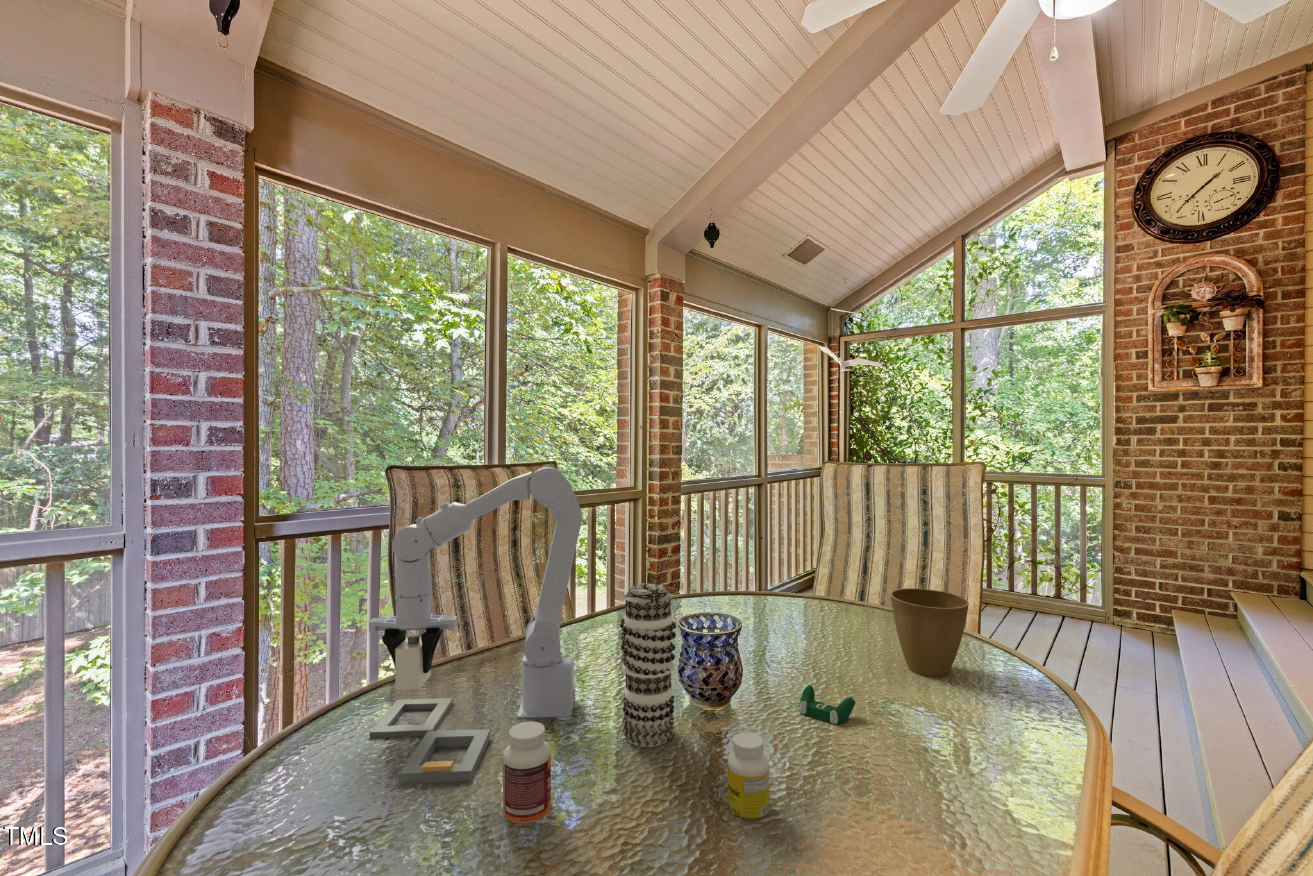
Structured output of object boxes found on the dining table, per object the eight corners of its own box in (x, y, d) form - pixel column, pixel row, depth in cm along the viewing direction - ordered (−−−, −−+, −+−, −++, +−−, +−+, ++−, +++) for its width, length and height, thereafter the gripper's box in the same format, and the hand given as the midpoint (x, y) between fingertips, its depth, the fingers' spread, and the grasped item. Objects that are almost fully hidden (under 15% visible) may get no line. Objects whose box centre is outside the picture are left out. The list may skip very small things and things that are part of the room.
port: (490, 741, 94) (490, 725, 94) (471, 785, 82) (471, 766, 82) (427, 743, 94) (427, 727, 94) (399, 787, 82) (399, 769, 82)
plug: (431, 675, 105) (430, 630, 105) (419, 689, 99) (419, 642, 99) (408, 675, 104) (408, 631, 104) (395, 690, 98) (395, 643, 98)
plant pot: (891, 681, 118) (890, 602, 118) (891, 656, 131) (890, 585, 132) (974, 693, 112) (973, 610, 112) (964, 665, 126) (964, 591, 126)
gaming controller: (808, 703, 108) (792, 715, 103) (807, 683, 108) (792, 694, 103) (856, 718, 102) (843, 732, 97) (856, 697, 102) (842, 709, 97)
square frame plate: (452, 704, 108) (452, 698, 108) (431, 737, 96) (431, 730, 96) (397, 706, 107) (397, 699, 107) (369, 739, 95) (369, 732, 95)
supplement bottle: (724, 802, 78) (723, 730, 78) (763, 800, 79) (763, 728, 79) (732, 829, 73) (732, 751, 73) (774, 826, 73) (774, 749, 73)
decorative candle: (657, 760, 89) (657, 597, 89) (609, 744, 94) (608, 589, 94) (686, 734, 96) (686, 584, 97) (640, 720, 101) (640, 577, 101)
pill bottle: (558, 818, 75) (558, 733, 75) (512, 836, 72) (512, 747, 72) (540, 794, 80) (540, 714, 80) (496, 809, 77) (496, 726, 77)
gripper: (461, 587, 106) (462, 661, 106) (380, 588, 105) (380, 663, 105) (450, 597, 99) (450, 677, 99) (363, 599, 98) (363, 679, 98)
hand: (413, 671), depth 102 cm, fingers closed on plug, 4 cm apart
